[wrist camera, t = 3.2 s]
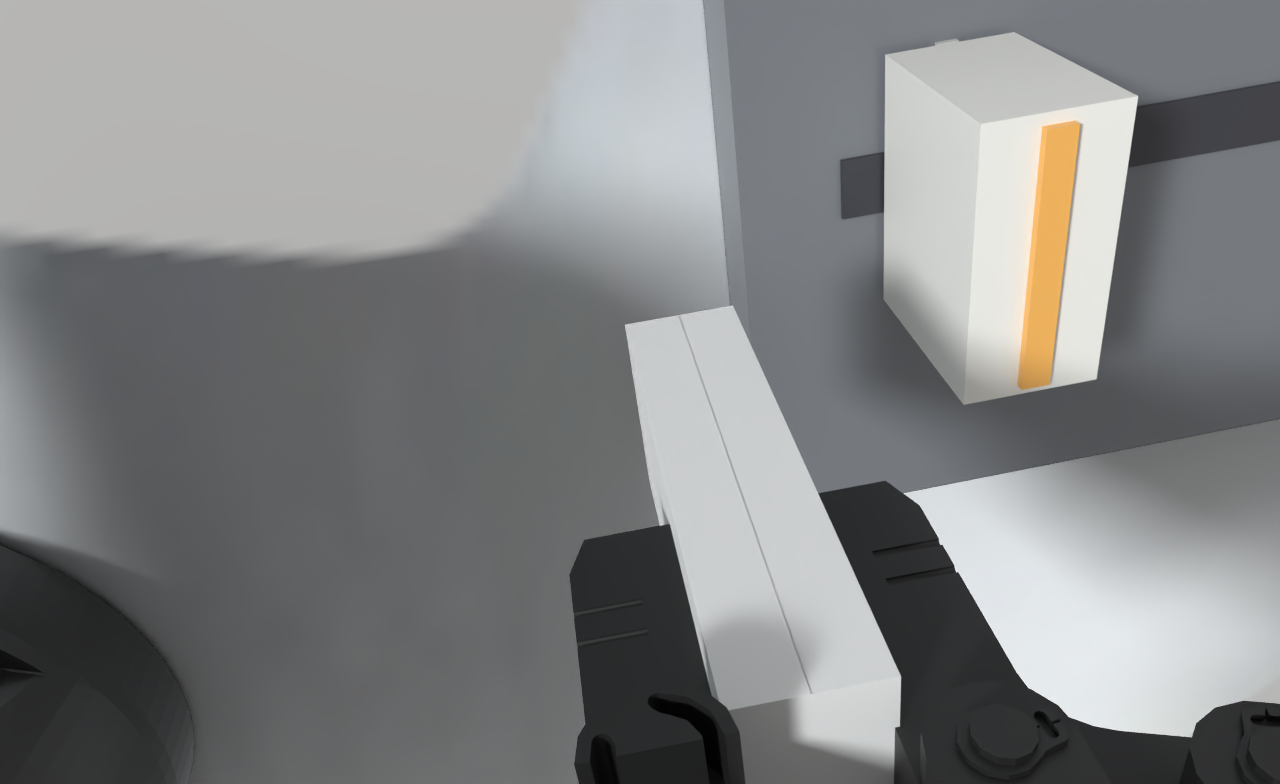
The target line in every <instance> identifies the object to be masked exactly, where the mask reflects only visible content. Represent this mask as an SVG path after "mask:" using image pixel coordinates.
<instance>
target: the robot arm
mask: <svg viewBox="0 0 1280 784" xmlns="http://www.w3.org/2000/svg"><path fill="white" fill-rule="evenodd" d="M625 329H626V335H627V341H628V348H629V354H630V361H631V367H632V373H633V380H634V386H635V392H636V399H637V405H638V411H639V418H640V424H641V430H642V437H643V443H644V450H645V456H646V462H647V469H648V475H649V481H650V485H651V490H652V494H653V498H654V503H655V507H656V512H657V516H658V520H659V525H660V526H656V527H651V528H646V529H640V530H635V531H630V532H624V533H619V534H614V535H608V536H603V537H598V538H592V539H587V540H584V542H583V544H582V546H581V549H580V551H579V554H578V556H577V558H576V561H575V563H574V565H573V568H572V570H571V573H570V583H571V593H572V602H573V611H574V617H575V618H574V621H575V630H576V639H577V645H578V648H577V649H578V658H579V667H580V676H581V686H582V695H583V704H584V714H585V723H586V724H585V726H584V728H583V729H582V731H581V733H580V734H579V736H578V741H577V748H576V756H575V763H574V765H575V769H576V773H577V777H578V780H579V784H1280V704H1275V703H1263V702H1251V701H1241V702H1237V703H1233V704H1229V705H1225V706H1220V707H1216V708H1214V709H1213V710H1212V711H1211V712H1210V713H1208V714H1207V715H1206V716H1205V717H1204V718H1202V719H1201V720H1200V721H1199V722H1198V723H1196V726H1195V730H1194V733H1193V736H1192V738H1191V737H1180V736H1169V735H1158V734H1146V733H1135V732H1124V731H1117V730H1111V729H1106V728H1100V727H1094V726H1091V725H1089V724H1086V723H1083V722H1080V721H1078V720H1075V719H1072V718H1069V717H1068V716H1067V715H1066V714H1065V713H1064V712H1063V710H1062V709H1061V708H1060V707H1059V706H1058V705H1056V704H1055V703H1053V702H1051V701H1050V700H1048V699H1046V698H1045V697H1043V696H1041V695H1040V694H1038V693H1036V692H1034V691H1033V690H1031V689H1028V687H1027V686H1026V685H1025V683H1024V682H1023V681H1022V679H1021V678H1020V677H1019V675H1018V674H1017V673H1016V671H1015V669H1014V668H1013V666H1012V664H1011V662H1010V661H1009V659H1008V657H1007V656H1006V654H1005V652H1004V650H1003V649H1002V647H1001V645H1000V644H999V642H998V640H997V638H996V637H995V635H994V633H993V631H992V630H991V628H990V626H989V625H988V623H987V621H986V619H985V618H984V616H983V614H982V612H981V611H980V609H979V607H978V606H977V604H976V602H975V600H974V599H973V597H972V595H971V594H970V592H969V590H968V588H967V587H966V585H965V583H964V581H963V580H962V578H961V576H960V575H959V573H958V572H957V573H956V571H955V568H954V564H953V562H952V561H951V559H950V557H949V556H948V554H947V552H946V550H945V549H944V547H943V545H940V544H939V538H938V537H937V535H936V533H935V531H934V530H933V528H932V526H931V525H930V523H929V521H928V519H927V518H926V516H925V514H924V512H923V511H922V509H921V507H920V506H919V505H918V504H917V503H915V502H914V501H913V500H911V499H910V498H908V497H907V496H906V495H904V494H903V493H902V492H900V491H899V490H898V489H896V488H895V487H894V486H892V485H891V484H890V483H888V482H887V481H881V482H875V483H870V484H865V485H859V486H854V487H849V488H843V489H838V490H833V491H828V492H822V493H818V492H817V490H816V488H815V485H814V483H813V481H812V479H811V477H810V474H809V472H808V470H807V468H806V466H805V463H804V461H803V459H802V457H801V455H800V452H799V450H798V448H797V446H796V444H795V441H794V439H793V437H792V435H791V432H790V430H789V428H788V426H787V424H786V421H785V419H784V417H783V415H782V413H781V410H780V408H779V406H778V404H777V402H776V399H775V397H774V395H773V393H772V391H771V388H770V386H769V384H768V382H767V380H766V377H765V375H764V373H763V371H762V368H761V366H760V364H759V362H758V360H757V357H756V355H755V353H754V351H753V349H752V346H751V344H750V342H749V340H748V338H747V335H746V333H745V331H744V329H743V327H742V324H741V322H740V320H739V318H738V316H737V313H736V311H735V309H734V307H733V305H731V306H726V307H720V308H715V309H709V310H704V311H698V312H692V313H687V314H681V315H676V316H670V317H665V318H659V319H653V320H648V321H642V322H637V323H631V324H625ZM193 757H194V731H193V725H192V719H191V715H190V712H189V708H188V705H187V702H186V700H185V697H184V694H183V692H182V690H181V688H180V686H179V684H178V682H177V680H176V678H175V676H174V675H173V673H172V672H171V670H170V668H169V667H168V665H167V664H166V662H165V661H164V660H163V658H162V657H161V656H160V654H159V653H158V652H157V650H156V649H155V648H154V647H153V646H152V645H151V643H150V642H149V641H148V640H147V639H146V638H145V637H144V636H143V635H142V634H141V633H140V632H139V631H138V630H137V629H136V628H135V627H134V626H133V625H132V624H131V623H130V622H129V621H128V620H127V619H125V618H124V617H123V616H122V615H121V614H119V613H118V612H117V611H116V610H115V609H113V608H112V607H111V606H110V605H108V604H107V603H106V602H104V601H103V600H101V599H100V598H99V597H97V596H96V595H95V594H93V593H92V592H90V591H89V590H87V589H85V588H84V587H82V586H81V585H79V584H78V583H76V582H74V581H73V580H71V579H69V578H68V577H66V576H64V575H62V574H60V573H59V572H57V571H55V570H53V569H52V568H50V567H48V566H46V565H43V564H41V563H39V562H37V561H35V560H33V559H31V558H29V557H27V556H25V555H22V554H20V553H18V552H15V551H13V550H11V549H8V548H6V547H4V546H1V545H0V784H188V781H189V777H190V773H191V769H192V764H193Z"/></svg>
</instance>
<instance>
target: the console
mask: <svg viewBox="0 0 1280 784" xmlns="http://www.w3.org/2000/svg"><path fill="white" fill-rule="evenodd" d="M703 5H704V16H705V27H706V39H707V50H708V61H709V72H710V83H711V95H712V106H713V117H714V128H715V140H716V151H717V162H718V173H719V185H720V196H721V207H722V218H723V229H724V241H725V252H726V263H727V274H728V286H729V297H730V306H731V305H733V307H734V309H735V311H736V313H737V316H738V318H739V320H740V322H741V324H742V327H743V329H744V331H745V333H746V335H747V338H748V340H749V342H750V344H751V346H752V349H753V351H754V353H755V355H756V357H757V360H758V362H759V364H760V366H761V368H762V371H763V373H764V375H765V377H766V380H767V382H768V384H769V386H770V388H771V391H772V393H773V395H774V397H775V399H776V402H777V404H778V406H779V408H780V410H781V413H782V415H783V417H784V419H785V421H786V424H787V426H788V428H789V430H790V432H791V435H792V437H793V439H794V441H795V444H796V446H797V448H798V450H799V452H800V455H801V457H802V459H803V461H804V463H805V466H806V468H807V470H808V472H809V474H810V477H811V479H812V481H813V483H814V485H815V488H816V490H817V492H818V493H822V492H828V491H833V490H838V489H843V488H849V487H854V486H859V485H865V484H870V483H875V482H881V481H887V482H888V483H890V484H891V485H892V486H894V487H895V488H896V489H898V490H899V491H900V492H902V493H906V492H912V491H917V490H922V489H927V488H932V487H937V486H942V485H947V484H952V483H957V482H962V481H967V480H972V479H978V478H983V477H988V476H993V475H998V474H1003V473H1008V472H1013V471H1018V470H1023V469H1028V468H1033V467H1038V466H1044V465H1049V464H1054V463H1059V462H1064V461H1069V460H1074V459H1079V458H1084V457H1089V456H1094V455H1099V454H1105V453H1110V452H1115V451H1120V450H1125V449H1130V448H1135V447H1140V446H1145V445H1150V444H1155V443H1160V442H1165V441H1171V440H1176V439H1181V438H1186V437H1191V436H1196V435H1201V434H1206V433H1211V432H1216V431H1221V430H1226V429H1231V428H1237V427H1242V426H1247V425H1252V424H1257V423H1262V422H1267V421H1272V420H1277V419H1280V0H703ZM1012 32H1015V33H1017V34H1019V35H1021V36H1023V37H1025V38H1027V39H1029V40H1031V41H1033V42H1035V43H1037V44H1038V45H1040V46H1042V47H1044V48H1046V49H1048V50H1050V51H1052V52H1054V53H1056V54H1058V55H1060V56H1062V57H1064V58H1066V59H1068V60H1069V61H1071V62H1073V63H1075V64H1077V65H1079V66H1081V67H1083V68H1085V69H1087V70H1089V71H1091V72H1093V73H1095V74H1097V75H1098V76H1100V77H1102V78H1104V79H1106V80H1108V81H1110V82H1112V83H1114V84H1116V85H1118V86H1120V87H1122V88H1124V89H1126V90H1128V91H1129V92H1131V93H1133V94H1135V95H1137V96H1138V102H1137V108H1136V115H1135V122H1134V129H1133V135H1132V142H1131V149H1130V156H1129V162H1128V169H1127V176H1126V183H1125V189H1124V196H1123V203H1122V210H1121V217H1120V223H1119V230H1118V237H1117V244H1116V250H1115V257H1114V264H1113V271H1112V277H1111V284H1110V291H1109V298H1108V304H1107V311H1106V318H1105V325H1104V332H1103V338H1102V345H1101V352H1100V359H1099V365H1098V372H1097V379H1095V380H1090V381H1085V382H1080V383H1075V384H1070V385H1064V386H1059V387H1054V388H1049V389H1044V390H1038V391H1033V392H1028V393H1023V394H1018V395H1013V396H1007V397H1002V398H997V399H992V400H987V401H981V402H976V403H971V404H966V405H963V404H962V402H961V401H960V400H959V398H958V397H957V396H956V394H955V393H954V392H953V390H952V389H951V388H950V386H949V385H948V384H947V382H946V381H945V380H944V378H943V377H942V376H941V375H940V373H939V372H938V371H937V369H936V368H935V367H934V365H933V364H932V363H931V361H930V360H929V359H928V357H927V356H926V355H925V353H924V352H923V351H922V349H921V348H920V347H919V346H918V344H917V343H916V342H915V340H914V339H913V338H912V336H911V335H910V334H909V332H908V331H907V330H906V328H905V327H904V326H903V324H902V323H901V322H900V320H899V319H898V318H897V316H896V315H895V314H894V313H893V311H892V310H891V309H890V307H889V306H888V305H887V303H886V302H885V301H884V161H885V54H891V53H897V52H902V51H908V50H914V49H920V48H926V47H931V46H937V45H943V44H949V43H954V42H960V41H966V40H972V39H977V38H983V37H989V36H995V35H1000V34H1006V33H1012Z"/></svg>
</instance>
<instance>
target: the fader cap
mask: <svg viewBox="0 0 1280 784" xmlns="http://www.w3.org/2000/svg"><path fill="white" fill-rule="evenodd" d="M1137 102H1138V96H1137V95H1135V94H1133V93H1131V92H1129V91H1128V90H1126V89H1124V88H1122V87H1120V86H1118V85H1116V84H1114V83H1112V82H1110V81H1108V80H1106V79H1104V78H1102V77H1100V76H1098V75H1097V74H1095V73H1093V72H1091V71H1089V70H1087V69H1085V68H1083V67H1081V66H1079V65H1077V64H1075V63H1073V62H1071V61H1069V60H1068V59H1066V58H1064V57H1062V56H1060V55H1058V54H1056V53H1054V52H1052V51H1050V50H1048V49H1046V48H1044V47H1042V46H1040V45H1038V44H1037V43H1035V42H1033V41H1031V40H1029V39H1027V38H1025V37H1023V36H1021V35H1019V34H1017V33H1015V32H1012V33H1006V34H1000V35H995V36H989V37H983V38H977V39H972V40H966V41H960V42H954V43H949V44H943V45H937V46H931V47H926V48H920V49H914V50H908V51H902V52H897V53H891V54H885V161H884V301H885V302H886V303H887V305H888V306H889V307H890V309H891V310H892V311H893V313H894V314H895V315H896V316H897V318H898V319H899V320H900V322H901V323H902V324H903V326H904V327H905V328H906V330H907V331H908V332H909V334H910V335H911V336H912V338H913V339H914V340H915V342H916V343H917V344H918V346H919V347H920V348H921V349H922V351H923V352H924V353H925V355H926V356H927V357H928V359H929V360H930V361H931V363H932V364H933V365H934V367H935V368H936V369H937V371H938V372H939V373H940V375H941V376H942V377H943V378H944V380H945V381H946V382H947V384H948V385H949V386H950V388H951V389H952V390H953V392H954V393H955V394H956V396H957V397H958V398H959V400H960V401H961V402H962V404H963V405H966V404H971V403H976V402H981V401H987V400H992V399H997V398H1002V397H1007V396H1013V395H1018V394H1023V393H1028V392H1033V391H1038V390H1044V389H1049V388H1054V387H1059V386H1064V385H1070V384H1075V383H1080V382H1085V381H1090V380H1095V379H1097V372H1098V365H1099V359H1100V352H1101V345H1102V338H1103V332H1104V325H1105V318H1106V311H1107V304H1108V298H1109V291H1110V284H1111V277H1112V271H1113V264H1114V257H1115V250H1116V244H1117V237H1118V230H1119V223H1120V217H1121V210H1122V203H1123V196H1124V189H1125V183H1126V176H1127V169H1128V162H1129V156H1130V149H1131V142H1132V135H1133V129H1134V122H1135V115H1136V108H1137Z"/></svg>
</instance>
